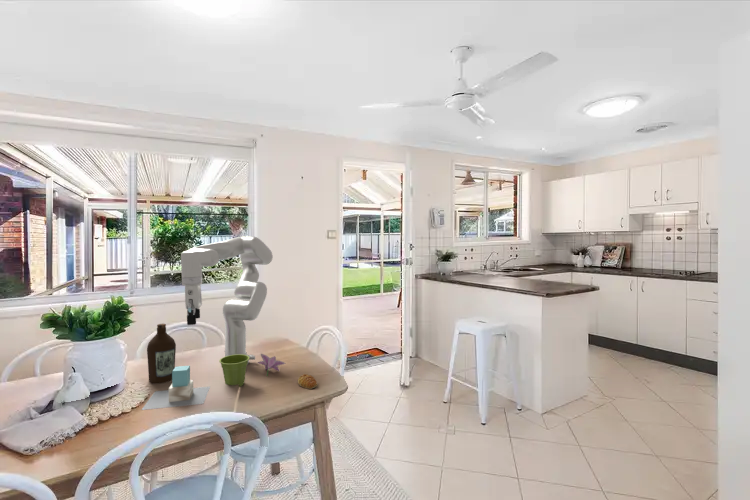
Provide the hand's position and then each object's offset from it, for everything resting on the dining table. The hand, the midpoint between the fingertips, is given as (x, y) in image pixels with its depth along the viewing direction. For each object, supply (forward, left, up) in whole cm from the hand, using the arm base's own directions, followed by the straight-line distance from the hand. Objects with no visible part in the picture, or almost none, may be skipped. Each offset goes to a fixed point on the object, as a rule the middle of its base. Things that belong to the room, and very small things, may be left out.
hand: (193, 321), depth 154 cm
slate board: (+3, +14, -27) cm, 31 cm away
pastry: (-46, +10, -28) cm, 55 cm away
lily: (-31, -7, -27) cm, 42 cm away
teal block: (+2, +14, -21) cm, 25 cm away
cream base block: (+2, +14, -26) cm, 29 cm away
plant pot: (-16, +3, -27) cm, 32 cm away
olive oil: (+14, -7, -27) cm, 31 cm away
